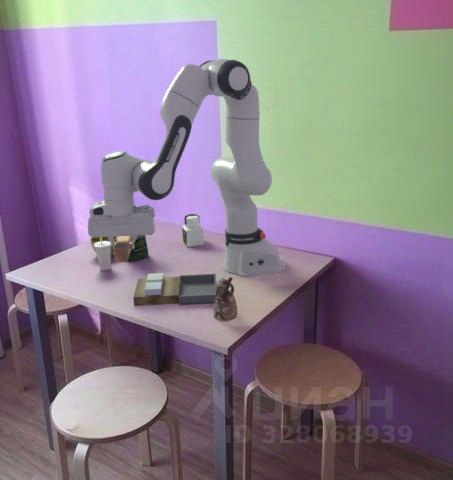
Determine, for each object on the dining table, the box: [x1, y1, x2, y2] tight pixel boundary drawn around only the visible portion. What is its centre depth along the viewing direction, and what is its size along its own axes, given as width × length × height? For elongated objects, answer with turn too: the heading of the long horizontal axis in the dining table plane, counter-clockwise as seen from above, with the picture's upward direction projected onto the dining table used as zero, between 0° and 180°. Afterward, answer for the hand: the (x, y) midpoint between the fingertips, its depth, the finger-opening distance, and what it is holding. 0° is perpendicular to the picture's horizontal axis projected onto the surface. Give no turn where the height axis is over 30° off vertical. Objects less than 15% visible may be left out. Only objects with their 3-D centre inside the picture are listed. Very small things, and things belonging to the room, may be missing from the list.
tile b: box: [145, 282, 162, 295], centre depth 165 cm, size 5×5×2 cm
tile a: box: [146, 272, 164, 285], centre depth 171 cm, size 5×5×2 cm
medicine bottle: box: [181, 213, 205, 248], centre depth 211 cm, size 7×7×12 cm
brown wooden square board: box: [132, 276, 181, 307], centre depth 169 cm, size 14×14×3 cm
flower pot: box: [90, 236, 118, 257], centre depth 202 cm, size 10×10×7 cm
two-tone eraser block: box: [113, 236, 132, 263], centre depth 163 cm, size 4×14×5 cm, turn 3°
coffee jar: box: [128, 235, 149, 262], centre depth 198 cm, size 10×8×19 cm
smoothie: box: [94, 237, 112, 272], centre depth 189 cm, size 6×6×14 cm
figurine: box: [213, 276, 238, 322], centre depth 153 cm, size 7×7×12 cm
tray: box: [178, 273, 217, 306], centre depth 169 cm, size 12×16×3 cm
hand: (123, 248), depth 163 cm, fingers closed on two-tone eraser block, 3 cm apart
